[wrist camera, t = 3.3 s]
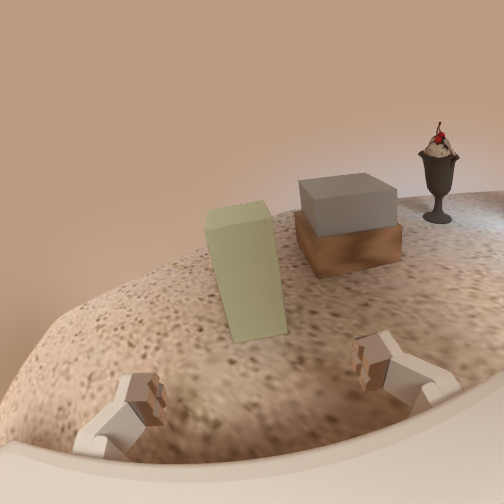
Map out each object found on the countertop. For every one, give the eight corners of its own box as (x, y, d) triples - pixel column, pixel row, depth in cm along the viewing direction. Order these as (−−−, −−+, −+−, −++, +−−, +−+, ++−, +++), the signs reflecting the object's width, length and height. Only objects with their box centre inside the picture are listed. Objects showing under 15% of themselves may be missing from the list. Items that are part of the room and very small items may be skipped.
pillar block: (278, 302, 27) (263, 200, 23) (287, 333, 23) (272, 217, 19) (232, 311, 27) (207, 210, 23) (233, 343, 23) (204, 230, 19)
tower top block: (366, 202, 37) (365, 172, 35) (396, 225, 28) (396, 189, 27) (302, 210, 37) (298, 180, 35) (317, 237, 29) (314, 199, 27)
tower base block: (365, 231, 39) (364, 200, 37) (400, 263, 30) (402, 226, 28) (297, 243, 39) (293, 211, 37) (318, 281, 30) (315, 242, 28)
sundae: (436, 229, 35) (437, 122, 29) (410, 214, 41) (407, 119, 35) (464, 222, 35) (467, 123, 29) (438, 208, 42) (437, 120, 35)
